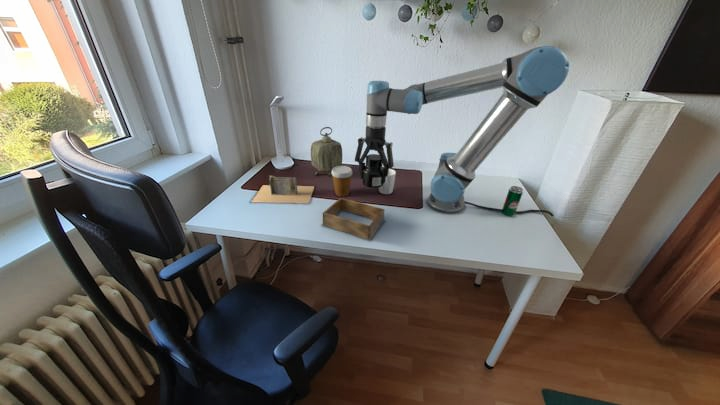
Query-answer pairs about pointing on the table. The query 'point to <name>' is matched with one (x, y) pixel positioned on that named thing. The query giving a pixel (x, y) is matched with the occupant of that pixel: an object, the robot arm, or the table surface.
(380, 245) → the table surface
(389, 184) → the white cup
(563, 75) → the robot arm
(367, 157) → the ink bottle
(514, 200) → the soda can
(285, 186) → the architectural model on board
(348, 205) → the wooden box
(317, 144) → the tabletop clock
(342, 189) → the disposable coffee cup
